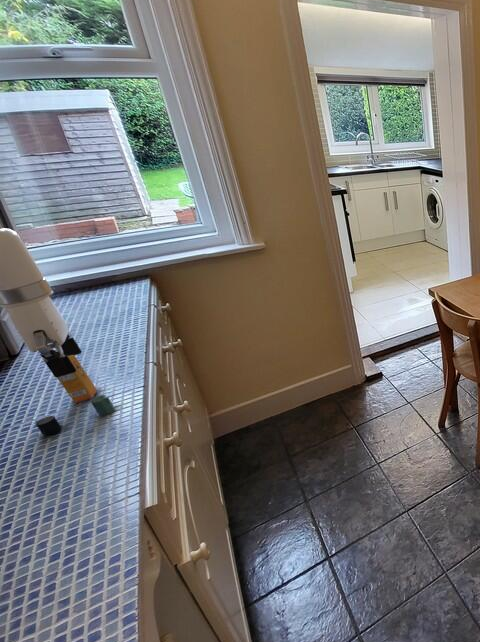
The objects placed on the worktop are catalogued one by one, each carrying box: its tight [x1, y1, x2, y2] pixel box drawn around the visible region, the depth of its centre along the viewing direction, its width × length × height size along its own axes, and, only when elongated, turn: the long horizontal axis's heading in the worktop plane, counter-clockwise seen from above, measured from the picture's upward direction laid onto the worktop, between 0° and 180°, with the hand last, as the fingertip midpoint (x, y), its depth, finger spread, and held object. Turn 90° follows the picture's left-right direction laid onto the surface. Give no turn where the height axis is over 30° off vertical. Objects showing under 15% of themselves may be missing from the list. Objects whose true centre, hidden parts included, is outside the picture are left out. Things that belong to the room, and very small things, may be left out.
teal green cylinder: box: [90, 394, 116, 417], centre depth 85 cm, size 3×3×4 cm
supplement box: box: [56, 355, 98, 404], centre depth 89 cm, size 3×3×10 cm
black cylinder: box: [35, 415, 63, 438], centre depth 81 cm, size 3×3×3 cm
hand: (69, 364), depth 88 cm, fingers open, 9 cm apart
